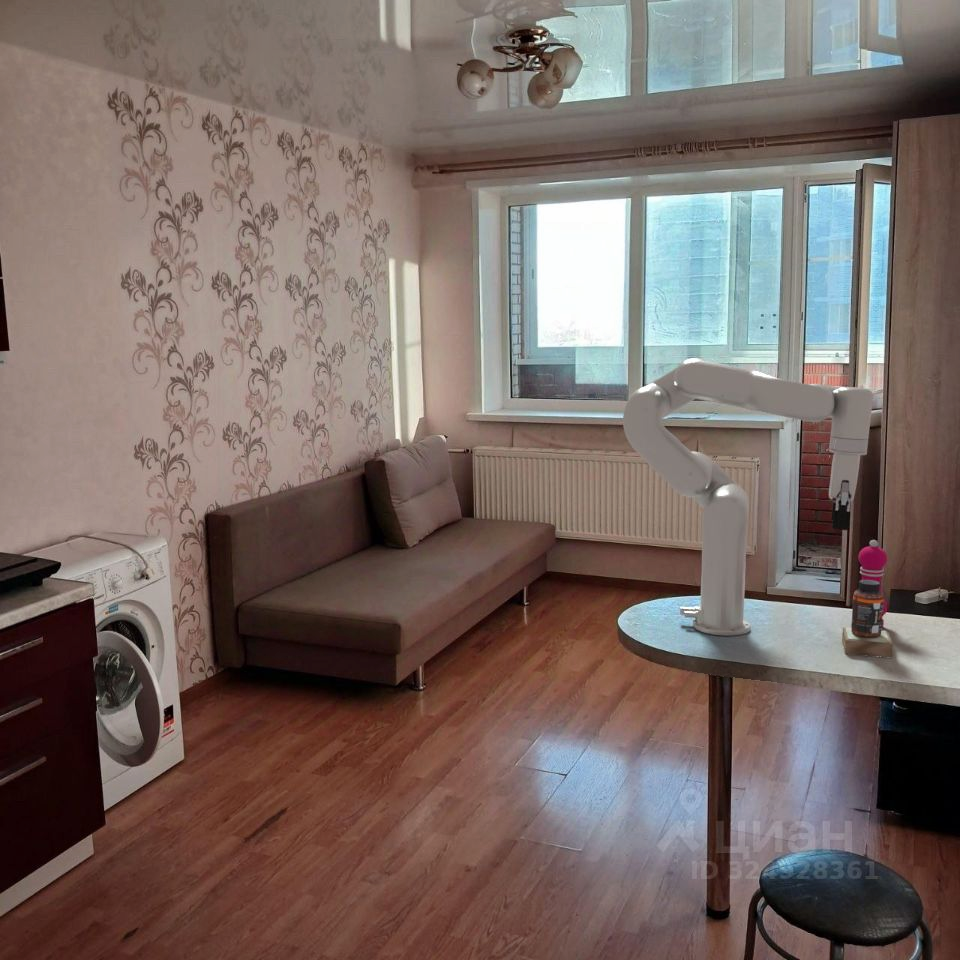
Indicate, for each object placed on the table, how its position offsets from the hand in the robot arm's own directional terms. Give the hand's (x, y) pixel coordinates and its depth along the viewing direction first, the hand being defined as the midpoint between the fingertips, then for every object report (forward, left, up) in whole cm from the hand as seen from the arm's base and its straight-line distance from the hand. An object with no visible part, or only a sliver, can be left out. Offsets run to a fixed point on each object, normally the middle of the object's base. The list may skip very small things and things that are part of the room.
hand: (839, 525), depth 207 cm
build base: (+6, -6, -25) cm, 27 cm away
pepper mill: (+8, +11, -25) cm, 29 cm away
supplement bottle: (+6, -6, -22) cm, 24 cm away
